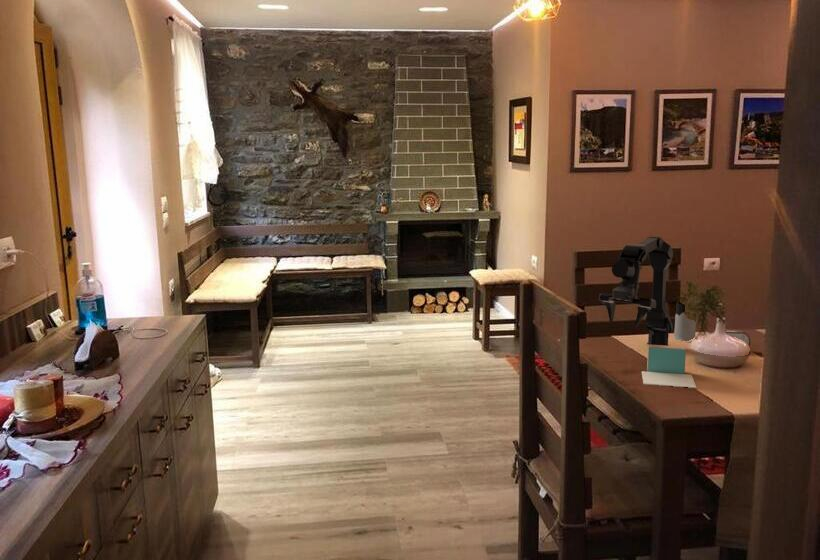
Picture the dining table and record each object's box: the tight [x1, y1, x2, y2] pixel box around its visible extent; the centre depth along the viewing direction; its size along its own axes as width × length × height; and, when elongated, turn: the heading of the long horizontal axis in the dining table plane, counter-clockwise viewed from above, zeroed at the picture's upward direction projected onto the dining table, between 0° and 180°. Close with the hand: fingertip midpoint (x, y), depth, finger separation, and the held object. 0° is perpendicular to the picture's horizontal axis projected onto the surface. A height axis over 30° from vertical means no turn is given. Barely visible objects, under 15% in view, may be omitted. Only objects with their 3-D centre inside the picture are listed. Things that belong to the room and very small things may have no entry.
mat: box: [641, 370, 697, 389], centre depth 221 cm, size 13×16×1 cm
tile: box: [646, 344, 687, 374], centre depth 229 cm, size 4×12×9 cm, turn 74°
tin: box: [711, 329, 752, 347], centre depth 252 cm, size 15×3×8 cm, turn 84°
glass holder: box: [672, 300, 697, 342], centre depth 272 cm, size 9×14×15 cm, turn 177°
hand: (623, 324), depth 233 cm, fingers open, 9 cm apart
